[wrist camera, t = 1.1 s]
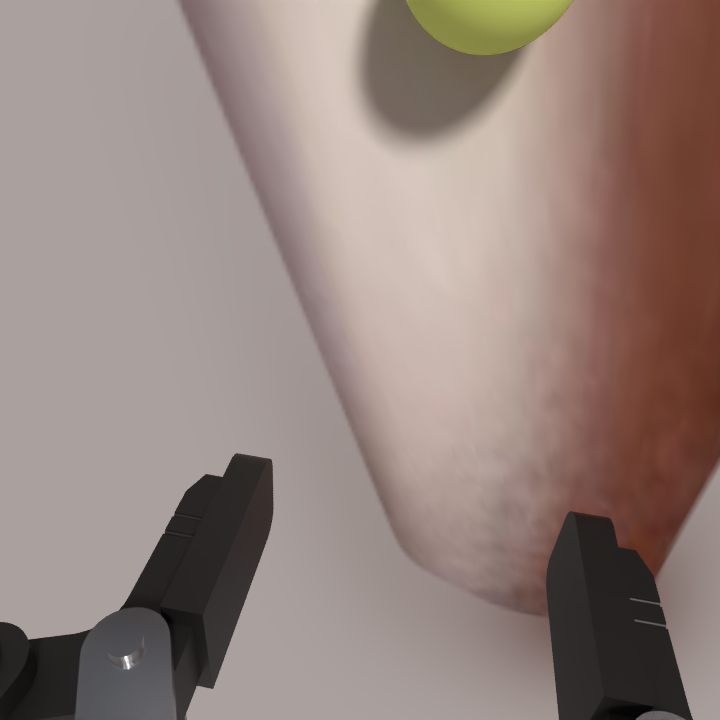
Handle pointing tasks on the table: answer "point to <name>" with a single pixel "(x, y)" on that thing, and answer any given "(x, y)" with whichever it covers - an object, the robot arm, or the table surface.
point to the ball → (487, 22)
